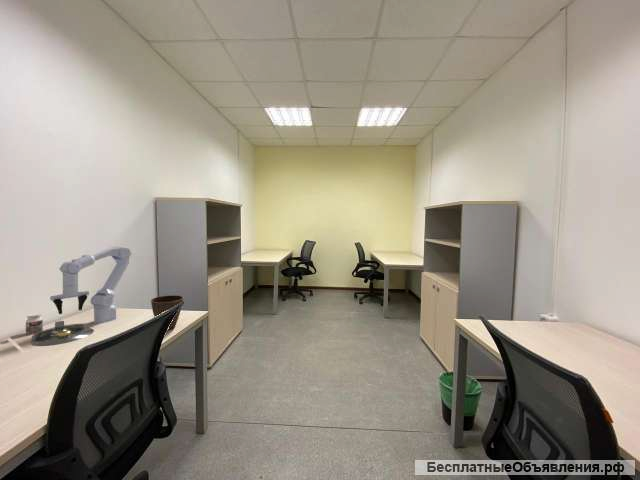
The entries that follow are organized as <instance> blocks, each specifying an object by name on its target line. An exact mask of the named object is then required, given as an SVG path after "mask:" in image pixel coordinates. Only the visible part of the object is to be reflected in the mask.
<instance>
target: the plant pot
mask: <svg viewBox="0 0 640 480" xmlns="http://www.w3.org/2000/svg"><path fill="white" fill-rule="evenodd" d="M183 300H184V297H183V296H181V295H178V294H177V295H176V294H175V295H173V294H172V295H163V296H157V297H153V298H152V299H150V303H151V309H152V314H153V317H154V318H155V316H157V315H159V314H161V313H162V312H164V311H166V310H168V309H170V308H172V307H174V306H175V305H177V304H179V303H180V302H182V303H183ZM181 310H182V307H181V308H180V309H179V311H178V312H177V314H176V315H175V317H174V319H173V321H172V322H171V324H170V326H169V329H168V330H167V331H169V330H173V329H175V328H176V325H177V323H178V321H179V316H180V315H181Z"/></svg>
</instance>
